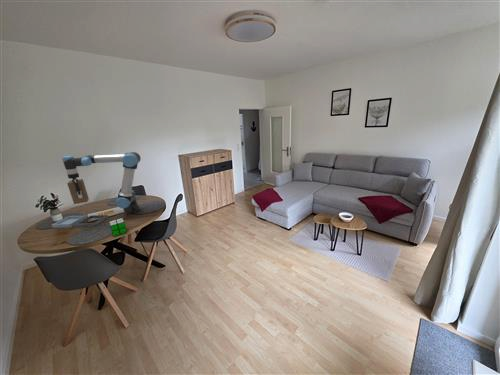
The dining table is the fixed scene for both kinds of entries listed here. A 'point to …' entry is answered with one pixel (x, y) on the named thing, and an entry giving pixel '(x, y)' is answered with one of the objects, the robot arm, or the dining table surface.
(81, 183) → the wooden block
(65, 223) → the bin
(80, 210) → the dining table surface
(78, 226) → the collar
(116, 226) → the puzzle cube
